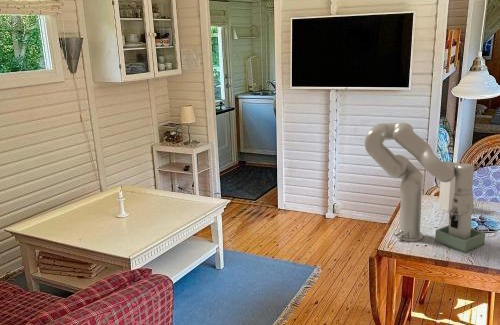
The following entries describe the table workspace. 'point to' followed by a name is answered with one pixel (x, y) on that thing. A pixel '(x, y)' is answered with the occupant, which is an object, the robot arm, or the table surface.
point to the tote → (460, 240)
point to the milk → (446, 195)
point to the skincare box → (461, 226)
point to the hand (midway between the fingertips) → (460, 225)
